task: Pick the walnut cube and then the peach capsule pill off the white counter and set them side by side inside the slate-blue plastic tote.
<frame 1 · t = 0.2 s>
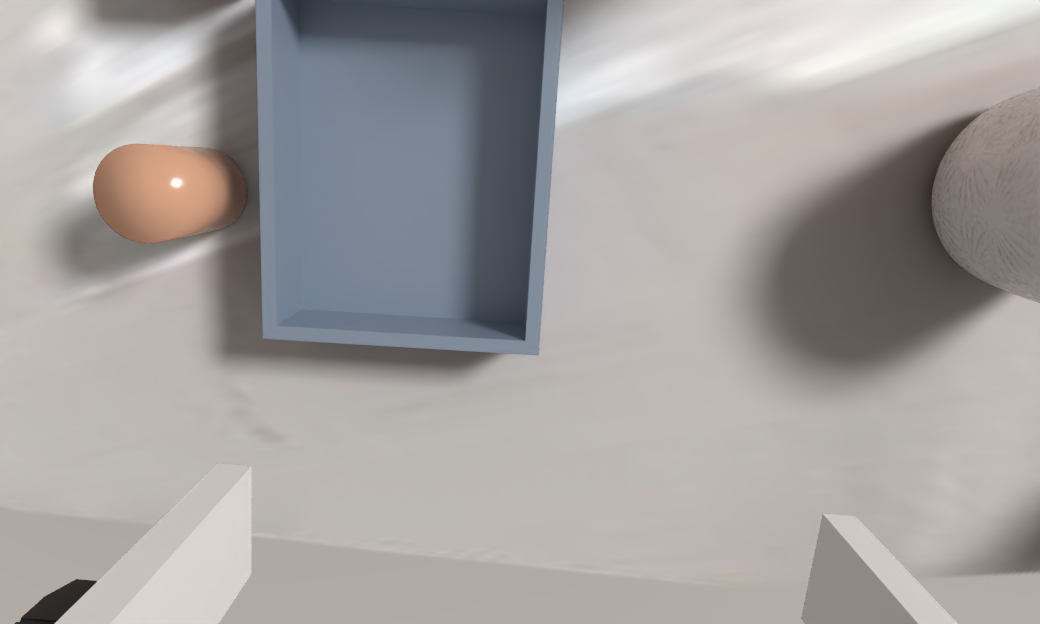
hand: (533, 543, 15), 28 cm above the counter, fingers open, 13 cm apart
tote: (419, 169, 40), on the counter
peach capsule pill: (206, 189, 41), on the counter
planter: (1005, 190, 41), on the counter
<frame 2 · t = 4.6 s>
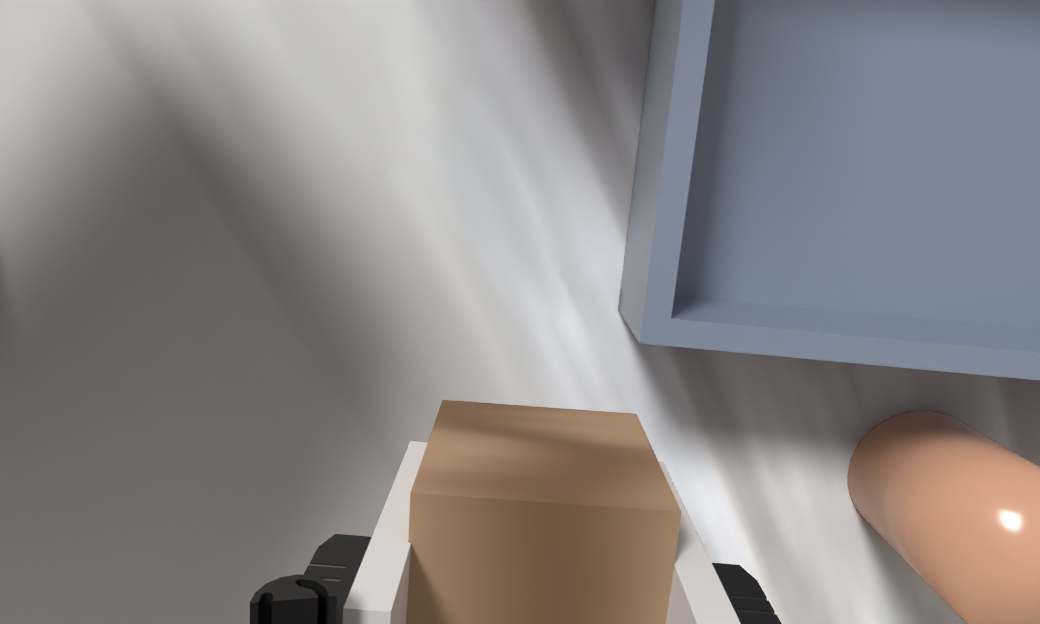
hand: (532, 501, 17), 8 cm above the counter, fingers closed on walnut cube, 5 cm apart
tote: (936, 109, 22), on the counter
peach capsule pill: (915, 474, 25), on the counter
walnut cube: (532, 495, 18), point 7 cm above the counter, touching gripper
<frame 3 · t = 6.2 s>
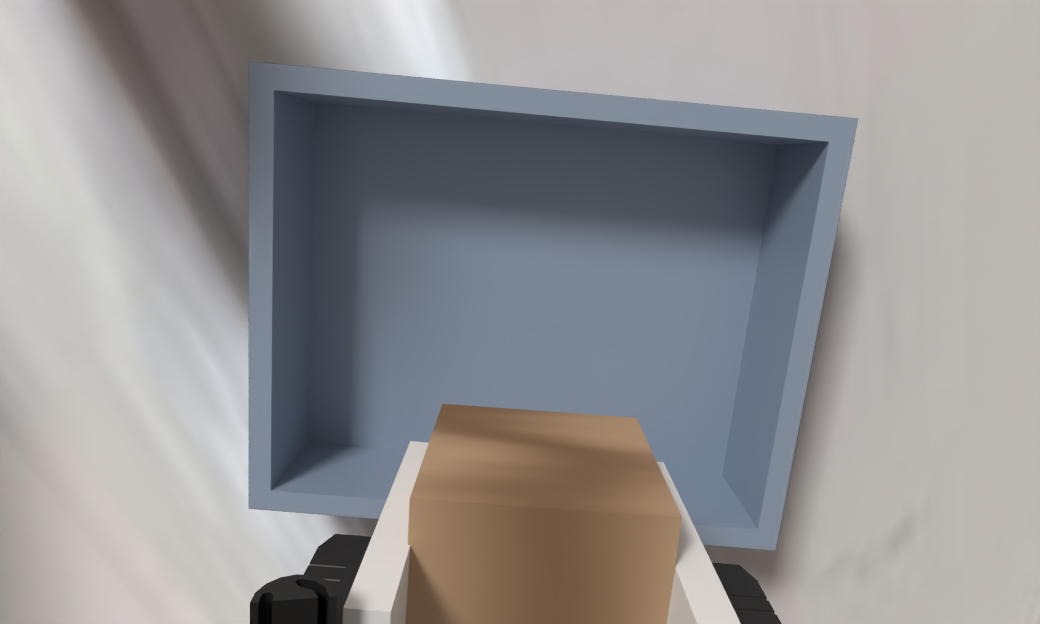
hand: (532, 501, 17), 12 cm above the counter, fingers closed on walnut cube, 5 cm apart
tote: (531, 297, 28), on the counter
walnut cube: (531, 499, 18), point 11 cm above the counter, touching gripper
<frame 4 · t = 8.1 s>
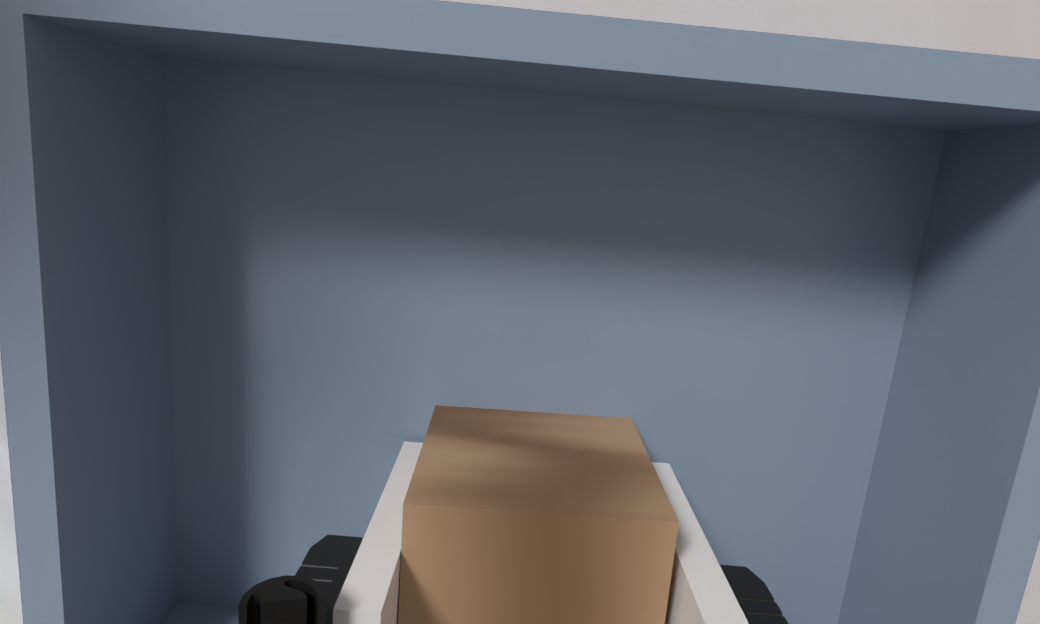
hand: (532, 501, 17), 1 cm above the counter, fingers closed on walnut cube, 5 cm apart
tote: (532, 377, 17), on the counter
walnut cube: (526, 501, 17), point 1 cm above the counter, touching gripper, tote
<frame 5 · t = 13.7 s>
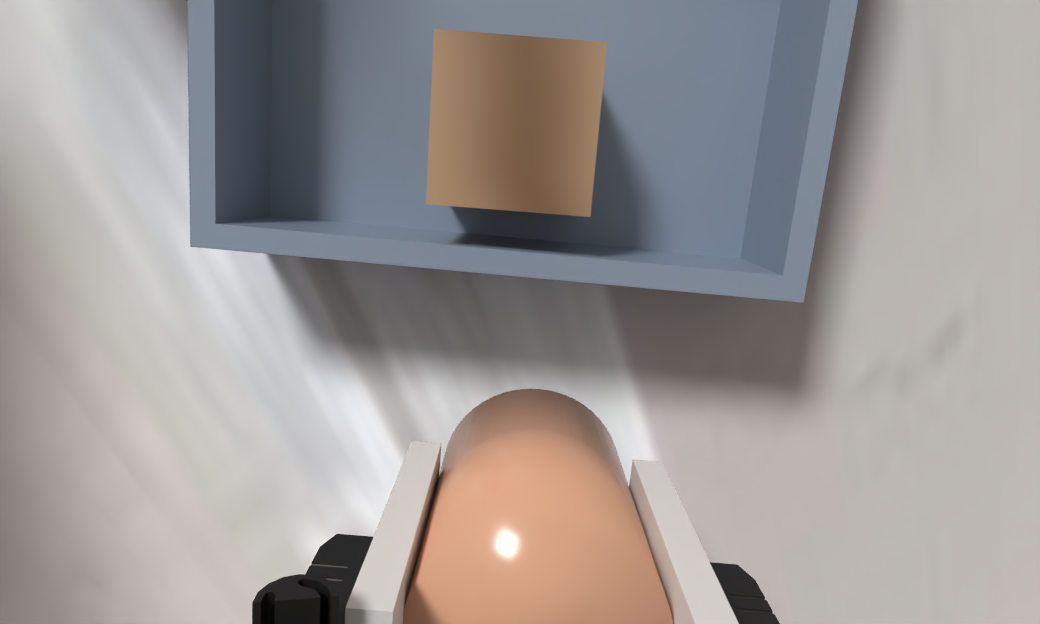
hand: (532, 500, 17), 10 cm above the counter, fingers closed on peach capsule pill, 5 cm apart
tote: (521, 45, 24), on the counter
peach capsule pill: (530, 472, 19), point 8 cm above the counter, touching gripper
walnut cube: (517, 135, 24), point 1 cm above the counter, touching tote
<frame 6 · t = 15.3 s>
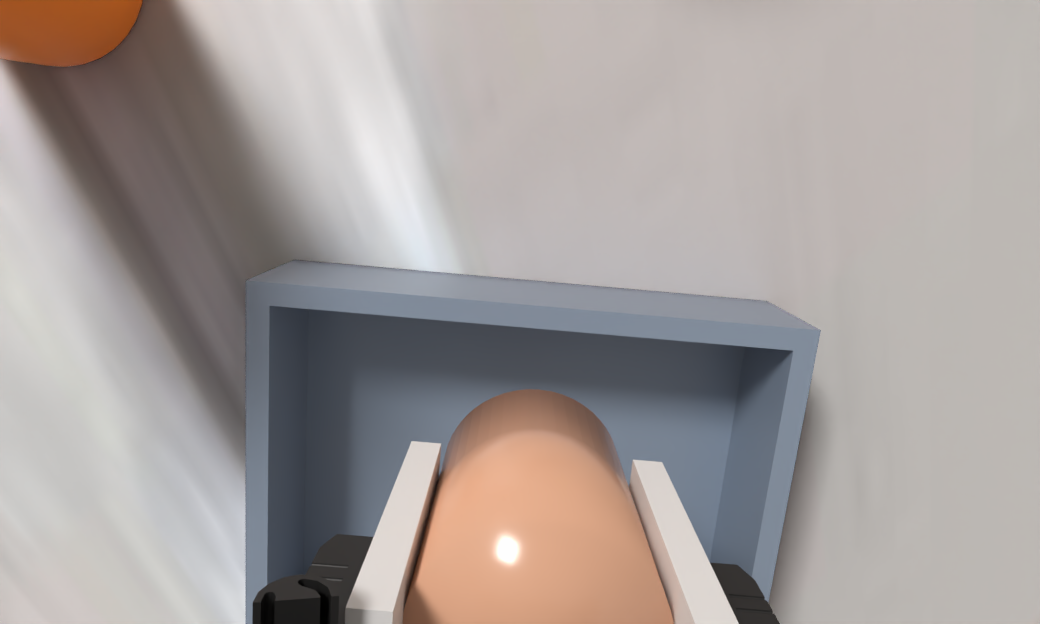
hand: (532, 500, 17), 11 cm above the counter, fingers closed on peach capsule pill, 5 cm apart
tote: (516, 455, 29), on the counter
peach capsule pill: (531, 473, 19), point 10 cm above the counter, touching gripper
when the fingers open (1 cm above the counter, at t = 17.3 s): peach capsule pill stays where it is, resting on tote.
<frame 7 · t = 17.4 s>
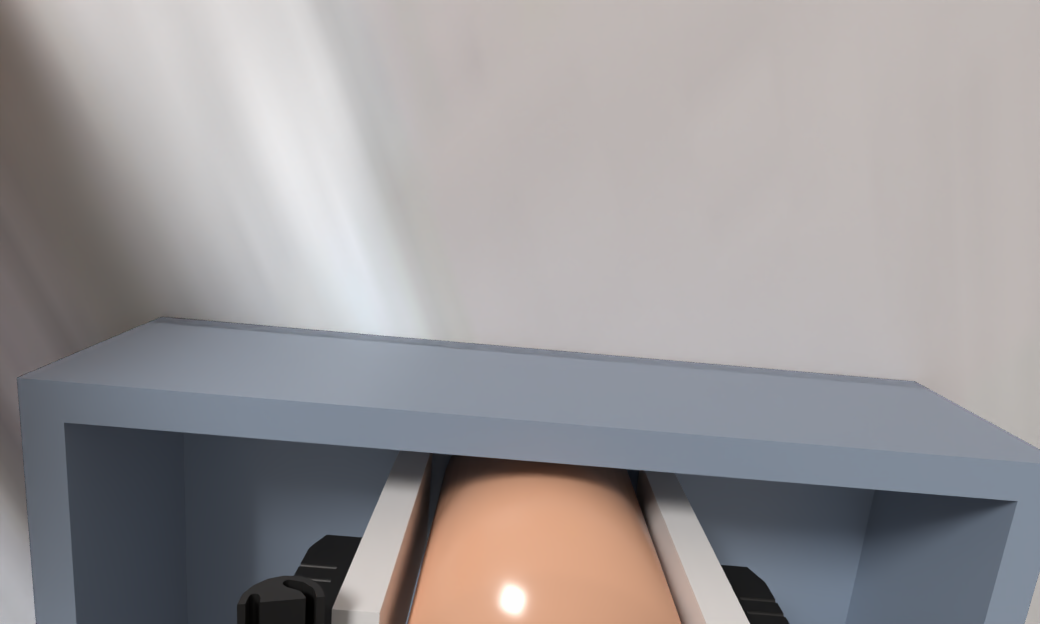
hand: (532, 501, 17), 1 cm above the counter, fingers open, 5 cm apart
tote: (516, 613, 19), on the counter
peach capsule pill: (536, 498, 17), point 1 cm above the counter, touching gripper, tote
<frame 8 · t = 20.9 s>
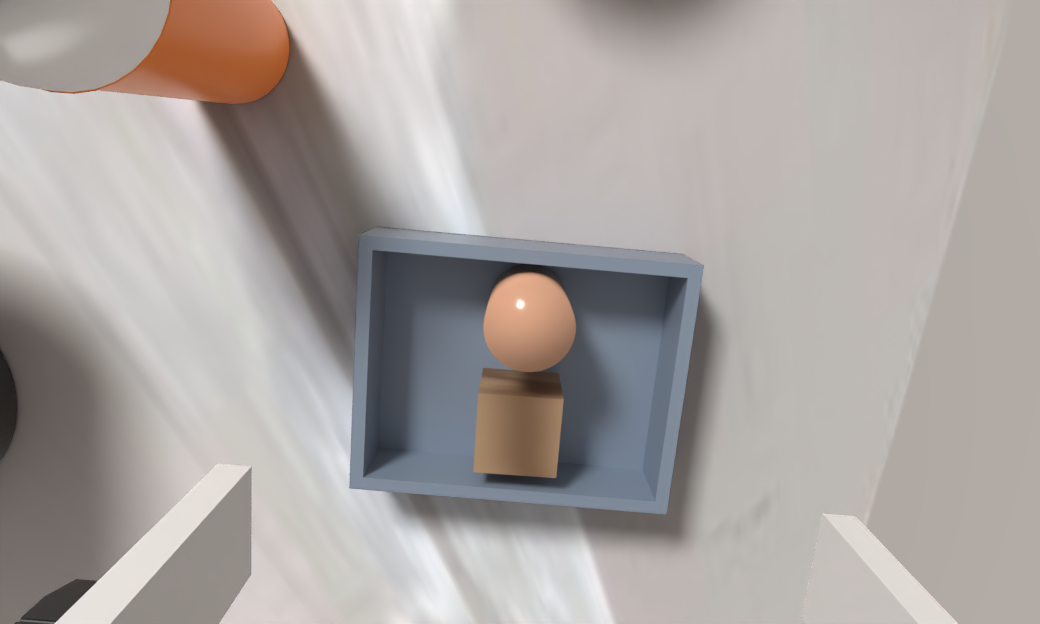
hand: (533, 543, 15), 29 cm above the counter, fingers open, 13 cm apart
tote: (519, 357, 44), on the counter
peach capsule pill: (528, 301, 43), point 1 cm above the counter, touching tote
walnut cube: (518, 406, 44), point 1 cm above the counter, touching tote
shaker bottle: (233, 43, 40), on the counter
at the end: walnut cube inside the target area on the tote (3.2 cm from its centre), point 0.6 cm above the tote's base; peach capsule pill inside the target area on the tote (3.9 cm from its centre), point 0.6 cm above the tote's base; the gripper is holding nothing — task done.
